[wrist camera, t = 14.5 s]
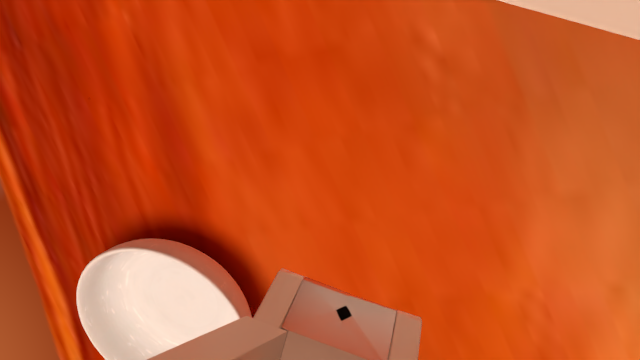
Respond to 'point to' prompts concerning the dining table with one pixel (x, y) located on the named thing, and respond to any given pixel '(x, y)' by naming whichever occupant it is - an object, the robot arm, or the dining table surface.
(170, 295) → the serving bowl
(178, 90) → the dining table surface
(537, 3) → the dial board
